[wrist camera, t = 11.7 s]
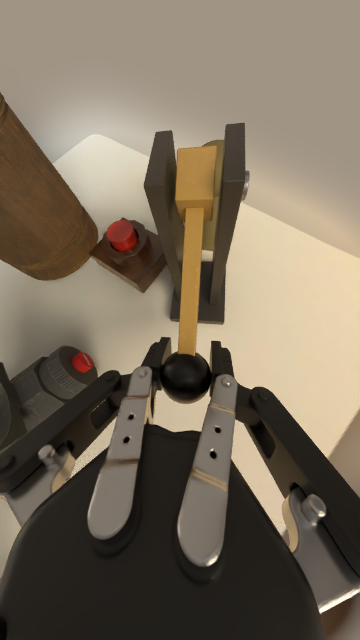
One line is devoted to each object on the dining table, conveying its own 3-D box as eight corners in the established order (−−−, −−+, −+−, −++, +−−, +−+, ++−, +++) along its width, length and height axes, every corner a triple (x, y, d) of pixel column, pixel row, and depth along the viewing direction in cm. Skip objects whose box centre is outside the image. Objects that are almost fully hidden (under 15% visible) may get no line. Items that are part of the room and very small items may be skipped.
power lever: (209, 391, 13) (210, 419, 9) (165, 385, 13) (152, 411, 10) (222, 183, 12) (230, 133, 8) (175, 186, 12) (164, 140, 9)
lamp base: (98, 264, 28) (80, 244, 24) (129, 230, 29) (117, 206, 25) (143, 293, 25) (131, 277, 21) (174, 254, 27) (169, 232, 22)
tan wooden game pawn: (214, 257, 26) (223, 178, 15) (184, 238, 27) (174, 156, 17) (238, 231, 27) (261, 139, 16) (207, 214, 28) (211, 123, 18)
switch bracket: (223, 324, 22) (271, 218, 7) (171, 321, 23) (114, 221, 8) (224, 266, 25) (262, 95, 10) (178, 266, 26) (145, 109, 11)
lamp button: (107, 244, 24) (100, 235, 22) (124, 226, 24) (118, 216, 23) (126, 255, 23) (120, 246, 21) (142, 236, 23) (138, 226, 22)
